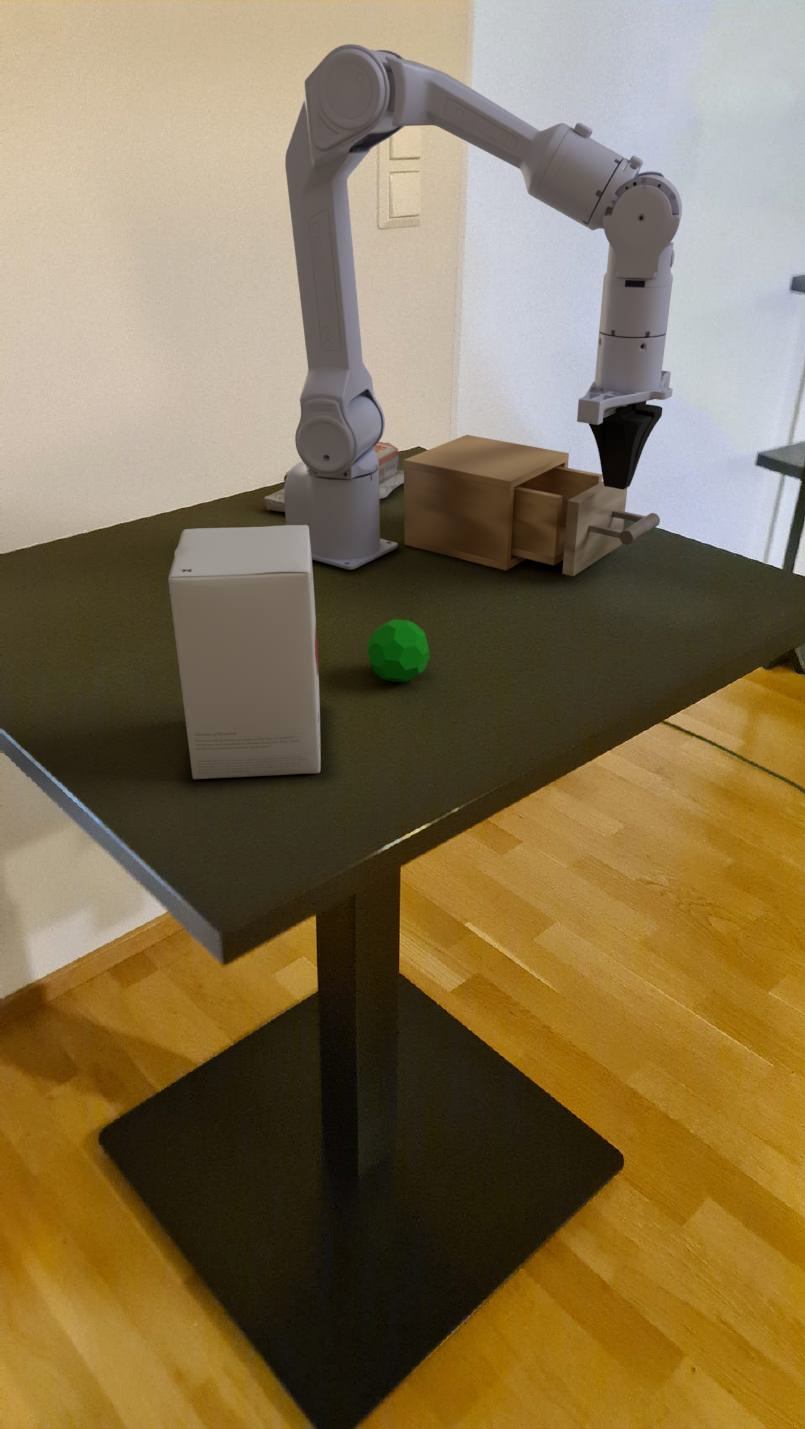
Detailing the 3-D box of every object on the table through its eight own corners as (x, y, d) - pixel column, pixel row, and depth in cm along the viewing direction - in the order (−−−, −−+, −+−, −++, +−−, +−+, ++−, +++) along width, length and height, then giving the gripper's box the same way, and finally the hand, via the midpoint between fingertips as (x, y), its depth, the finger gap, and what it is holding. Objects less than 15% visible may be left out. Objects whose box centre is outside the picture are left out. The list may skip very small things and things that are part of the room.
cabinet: (563, 537, 109) (569, 453, 105) (506, 571, 101) (510, 481, 97) (464, 514, 116) (466, 434, 111) (404, 544, 108) (403, 459, 103)
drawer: (664, 554, 102) (673, 483, 99) (618, 587, 95) (625, 512, 92) (524, 522, 111) (528, 456, 107) (472, 551, 104) (474, 481, 100)
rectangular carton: (323, 776, 70) (312, 571, 62) (191, 783, 69) (163, 577, 62) (321, 710, 78) (311, 521, 70) (202, 715, 77) (179, 526, 70)
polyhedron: (365, 665, 84) (363, 612, 82) (424, 661, 85) (424, 608, 82) (371, 694, 80) (369, 639, 77) (433, 690, 80) (433, 635, 78)
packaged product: (345, 432, 129) (414, 442, 124) (346, 470, 131) (414, 481, 127) (260, 470, 115) (335, 482, 111) (263, 511, 117) (337, 525, 113)
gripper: (639, 351, 81) (621, 515, 88) (709, 324, 91) (688, 474, 98) (560, 341, 85) (549, 500, 91) (636, 317, 95) (621, 462, 102)
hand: (616, 486), depth 95 cm, fingers closed
